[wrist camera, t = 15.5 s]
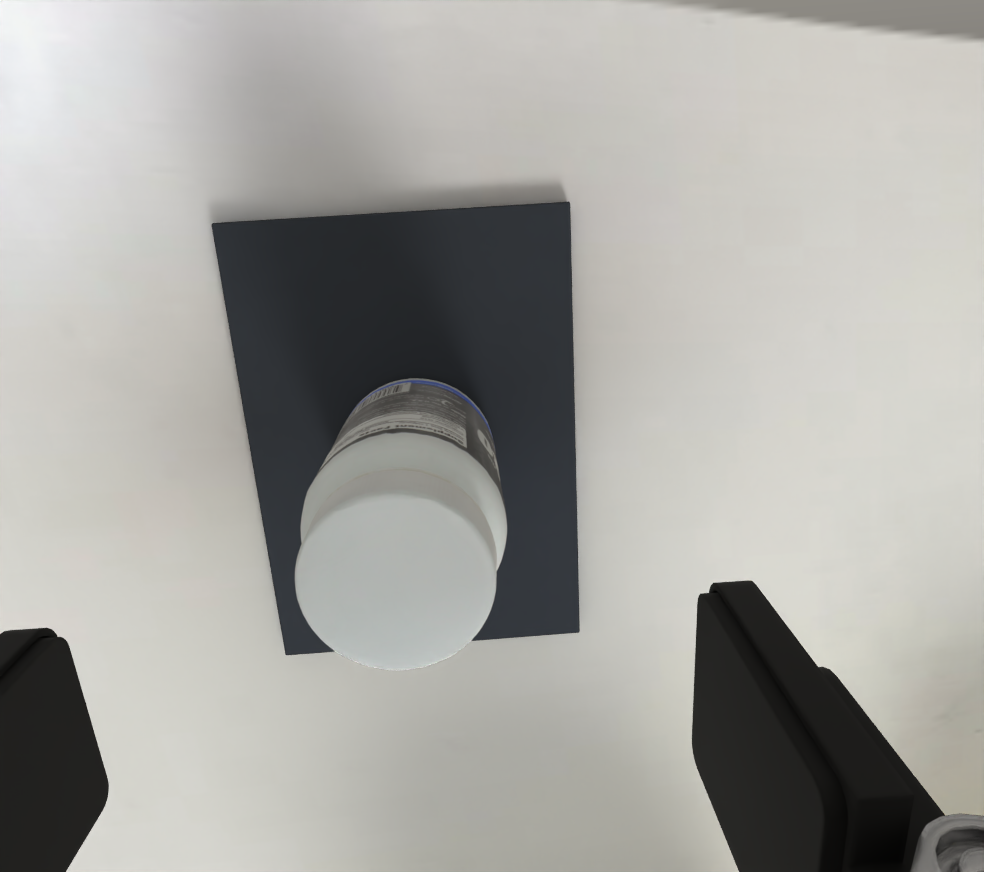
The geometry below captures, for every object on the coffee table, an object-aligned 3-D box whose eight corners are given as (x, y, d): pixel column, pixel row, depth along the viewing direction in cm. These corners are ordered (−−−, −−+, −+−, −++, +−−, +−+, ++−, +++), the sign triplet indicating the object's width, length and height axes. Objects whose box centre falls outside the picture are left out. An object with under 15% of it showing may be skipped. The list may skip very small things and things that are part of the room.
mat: (215, 222, 20) (210, 223, 19) (568, 201, 20) (570, 201, 20) (288, 648, 24) (285, 656, 24) (577, 626, 24) (579, 632, 24)
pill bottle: (486, 525, 23) (502, 697, 15) (338, 514, 22) (271, 683, 14) (502, 381, 21) (530, 485, 13) (344, 366, 21) (274, 464, 13)
